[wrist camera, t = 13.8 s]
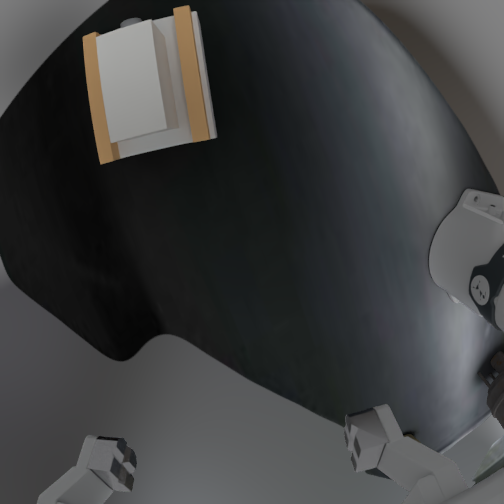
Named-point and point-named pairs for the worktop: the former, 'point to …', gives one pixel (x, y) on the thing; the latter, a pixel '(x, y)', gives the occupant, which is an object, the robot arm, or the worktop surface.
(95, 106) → the white tray with rails
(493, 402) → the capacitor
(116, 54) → the white block with knob
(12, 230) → the worktop surface
